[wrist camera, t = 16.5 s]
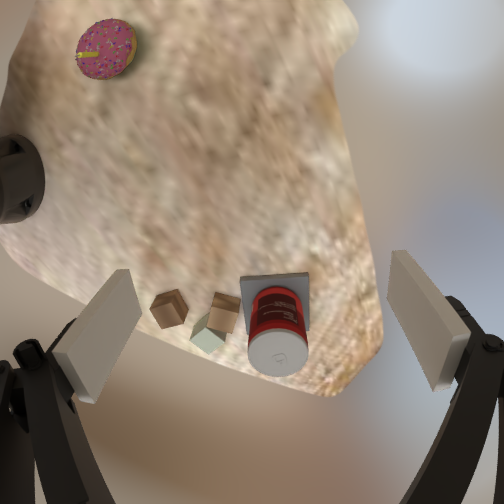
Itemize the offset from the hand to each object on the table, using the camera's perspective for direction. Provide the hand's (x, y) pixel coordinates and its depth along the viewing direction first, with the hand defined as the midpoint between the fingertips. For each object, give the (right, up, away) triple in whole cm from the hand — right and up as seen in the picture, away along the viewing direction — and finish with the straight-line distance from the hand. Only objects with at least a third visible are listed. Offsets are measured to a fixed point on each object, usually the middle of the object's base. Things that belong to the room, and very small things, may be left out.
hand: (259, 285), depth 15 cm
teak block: (-5, -7, +35) cm, 36 cm away
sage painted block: (-7, -11, +37) cm, 39 cm away
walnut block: (-13, -6, +35) cm, 38 cm away
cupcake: (-18, +29, +20) cm, 39 cm away
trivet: (+3, -6, +34) cm, 35 cm away
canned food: (+3, -7, +33) cm, 34 cm away
